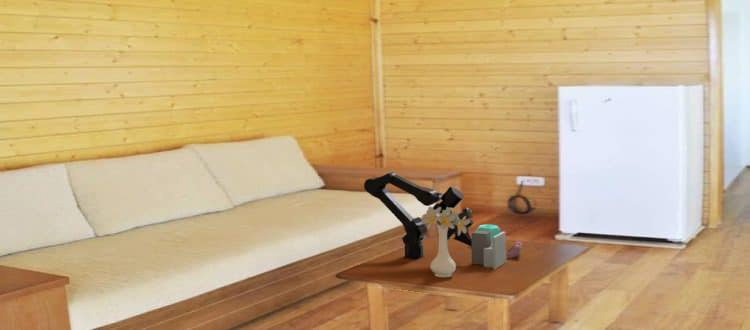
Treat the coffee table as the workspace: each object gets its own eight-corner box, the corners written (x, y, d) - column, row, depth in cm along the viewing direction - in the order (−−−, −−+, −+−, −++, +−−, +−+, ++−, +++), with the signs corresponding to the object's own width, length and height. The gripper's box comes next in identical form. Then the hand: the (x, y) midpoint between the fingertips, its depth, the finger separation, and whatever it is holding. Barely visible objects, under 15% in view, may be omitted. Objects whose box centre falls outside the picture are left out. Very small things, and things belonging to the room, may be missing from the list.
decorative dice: (475, 244, 365) (474, 226, 364) (487, 242, 370) (487, 223, 369) (489, 247, 359) (489, 228, 358) (501, 244, 364) (501, 226, 363)
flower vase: (461, 282, 302) (460, 212, 299) (414, 276, 312) (413, 208, 309) (476, 274, 313) (475, 206, 311) (430, 269, 323) (430, 203, 320)
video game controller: (516, 262, 337) (524, 247, 336) (505, 257, 338) (513, 242, 336) (517, 257, 347) (524, 242, 346) (506, 252, 347) (514, 237, 346)
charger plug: (471, 263, 329) (471, 232, 328) (476, 260, 333) (475, 230, 332) (490, 265, 326) (490, 234, 324) (494, 262, 330) (494, 231, 329)
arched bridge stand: (482, 267, 323) (482, 236, 322) (492, 261, 334) (492, 230, 333) (495, 268, 321) (495, 237, 320) (505, 262, 332) (505, 231, 330)
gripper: (450, 205, 323) (478, 236, 319) (468, 198, 339) (495, 228, 336) (431, 225, 328) (458, 255, 324) (450, 217, 344) (476, 246, 340)
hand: (473, 245), depth 331 cm, fingers closed, pressing on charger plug
